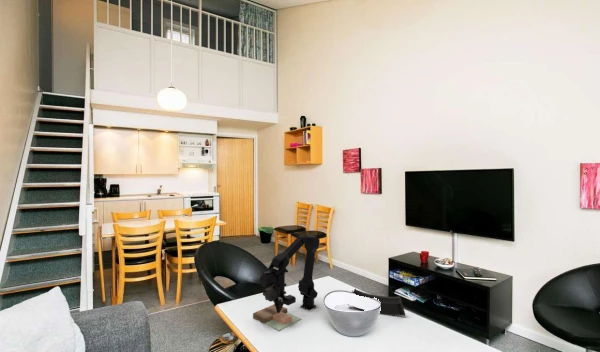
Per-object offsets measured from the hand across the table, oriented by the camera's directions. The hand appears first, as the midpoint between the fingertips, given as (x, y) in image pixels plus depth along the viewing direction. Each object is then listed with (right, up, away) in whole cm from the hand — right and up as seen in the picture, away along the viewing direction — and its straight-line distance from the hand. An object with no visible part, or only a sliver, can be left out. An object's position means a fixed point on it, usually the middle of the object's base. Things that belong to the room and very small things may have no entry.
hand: (278, 312), depth 155 cm
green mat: (+3, -4, -2) cm, 5 cm away
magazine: (+52, -5, +10) cm, 53 cm away
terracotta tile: (+2, -3, -2) cm, 4 cm away
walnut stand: (-5, -3, +4) cm, 7 cm away
